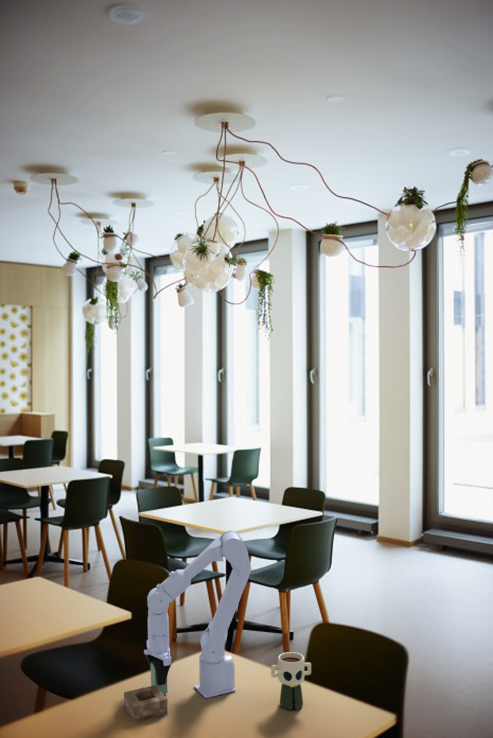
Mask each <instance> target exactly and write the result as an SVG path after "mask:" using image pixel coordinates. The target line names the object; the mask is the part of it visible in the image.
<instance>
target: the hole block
mask: <svg viewBox="0 0 493 738" xmlns="http://www.w3.org/2000/svg"><path fill="white" fill-rule="evenodd" d="M168 703H169V701H168V698H167V697H166V696H165V694H163V693H162V692H161V691H160V690H159V688H158V687H157V686H156V685H154V686H151V685H150V686H145V687H141V688H137V689H132V690H129V691H128V690H127V691H124V692H123V708H124V710H125V711H126V712H127V714H128V715H129V717H130V718H131V719H132V721H133V722H134V723H138V722H141V721H145V720H149V719H154V718H157V717H161V716H166V715H168V711H169V710H168V708H169V707H168Z"/></svg>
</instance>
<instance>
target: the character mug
mask: <svg viewBox="0 0 493 738" xmlns="http://www.w3.org/2000/svg"><path fill="white" fill-rule="evenodd" d="M305 667H307V670H306V671H305ZM275 669H277V673H275V672H276V671H275ZM311 674H312V663H311V662H308V661H307V662H305V657H304V655H303V654H302V653H299V652H294V651H286V652H283V653H281V654H279V655H278V657H277V664H272V665H270V676H271V678H277V679H278V682H280V683H281V688H280V696H279V697H280V698H279V705H280V706H281V707H282V708H285V709H287V710H288V709H289V710H292V709H293V706H294V708H295V709H297V710H298V709H300V708H301V707H303V705H304V699H303V691H302V685H301V684H302V683H303V682H304V680H305V676H310V675H311Z"/></svg>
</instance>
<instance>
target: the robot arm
mask: <svg viewBox="0 0 493 738" xmlns="http://www.w3.org/2000/svg"><path fill="white" fill-rule="evenodd" d="M224 559H225V560H226V561H228V563H230V566H231V568H232V570H231V572H230V575H229V578H228V579H227V582H226V585H225V588H224V591H223V592H222V595H221V597H220V600H219V603H218V605H217V608H216V610H215V613H214V615H213V618H212V620H211V621H210V622H209V623H208V626H207V627H206V629H205V630H203V632H202V633H201V634H200V637H199V643H200V647H201V653H200V655H199V658H198V659H199V663H198V666H199V676H198V677H199V683H197V684H194V688H195V689H196V690H197V691H198V692H199V693H200V695H202V696H203V698H205V699H208V698H212V697H216V696H219V695H224V694H228V693H233V692H236V691H237V690H236V688H235V686H236V682H235V677H236V676H235V671H236V670H235V663H234V659H233V657H232V656H231V655H230V654H225V652H226V650H225V644H226V642H227V637H228V630H229V627H230V624H232V620H233V618H234V615H235V612H236V610H237V607H238V606H239V602H240V600H241V597H242V596H243V595H242V594H244V590H245V588H246V586H247V582H248V580H249V577H250V575H251V572H252V565H251V561H250V556H249V551H248V549H247V547H246V544H245V543H244V540H243V539H242V537H241V535H240V534H239V533H238V532H237V531H234V530H227V531H225V532H223V533H222V534H221V535H220V536H219V537H217V538H215V539H214V540H213V541H212V542H211V543H210V544H209V545H208V546H206V548H205V549H203V551H202V552H200V554H198V555H197V556H196V557H195V558H194V559H193V560H192V561H191V562H190V563H189V564H188V565H187V566H186V567H185V568H184V569H176V570H175V571H173V570H172V571H171V572H169V576H168V577H167V578H166V579H164V580H163V582H161V583H157V585H156V586H155V587H154V588H152V589H150V591H149V592H148V595H147V597H146V599H147V607H148V610H147V614H148V616H147V638H148V639H146V647H147V649H144V650H143V653H144V656H145V659H146V660H147V662H148V665H149V669H150V671H151V662H152V664H153V666H154V669H155V672H156V679H157V684H158V686H160V685H164V684H166V680H167V681H168V676H169V675H168V674H169V671H170V668H171V666H172V665H173V662H174V659H172V656H171V648H170V634H169V633H170V631H169V630H170V629H169V628H170V627H169V626H170V625H169V615H168V609H169V608H170V603H172V602H174V601H175V600H176V599H177V598H178V597H179V596H180V595H181V594H183V593H184V592H185V591H186V590H187V589H189V587H190V586H191V583H192V579H193V578H195V577H197V575H198V574H199V573H201V572H202V571H203V570H204V569H206V568H207V567H208V566H209V565H211V564H212V563H213V562H225V561H224Z"/></svg>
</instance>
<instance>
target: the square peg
mask: <svg viewBox="0 0 493 738" xmlns="http://www.w3.org/2000/svg"><path fill="white" fill-rule="evenodd" d="M154 685H156V686H157V687H158V688H159V690H160V691H161V692H162V693H163V694H164V695H165V694H168V679H167V680H166V684H164V685H160V686H158V684H157V679H156V672H155V669H154V666H153V664H152V662H151V670H150V686H154Z"/></svg>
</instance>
